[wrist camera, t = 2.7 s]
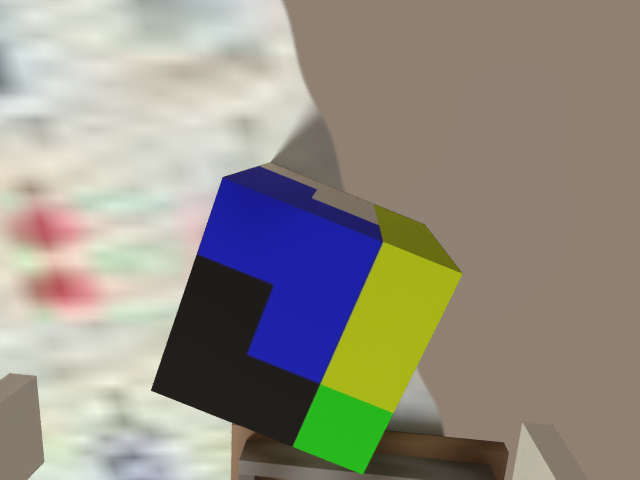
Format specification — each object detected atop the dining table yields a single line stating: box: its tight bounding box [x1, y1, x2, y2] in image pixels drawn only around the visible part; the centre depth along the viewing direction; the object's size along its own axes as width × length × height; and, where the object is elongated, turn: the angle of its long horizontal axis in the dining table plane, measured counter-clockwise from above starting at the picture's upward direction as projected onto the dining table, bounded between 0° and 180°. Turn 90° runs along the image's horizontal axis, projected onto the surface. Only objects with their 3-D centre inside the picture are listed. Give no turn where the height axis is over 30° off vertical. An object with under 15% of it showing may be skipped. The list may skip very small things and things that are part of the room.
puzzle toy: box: [151, 162, 462, 474], centre depth 24 cm, size 10×10×10 cm
